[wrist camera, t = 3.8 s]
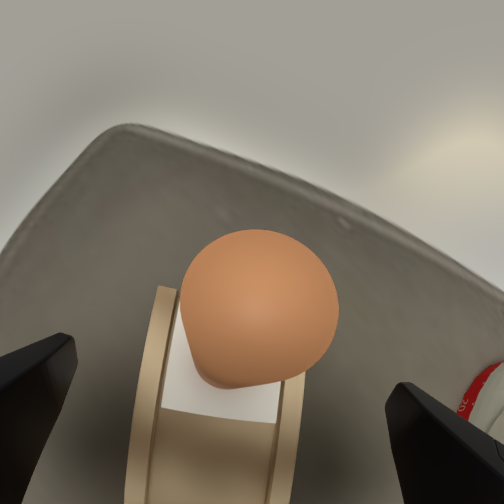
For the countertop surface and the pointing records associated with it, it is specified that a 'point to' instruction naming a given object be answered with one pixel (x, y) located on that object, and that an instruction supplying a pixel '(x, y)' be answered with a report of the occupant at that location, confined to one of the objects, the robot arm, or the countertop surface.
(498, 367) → the kitchen timer
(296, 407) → the wooden tray
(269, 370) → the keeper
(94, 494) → the countertop surface
